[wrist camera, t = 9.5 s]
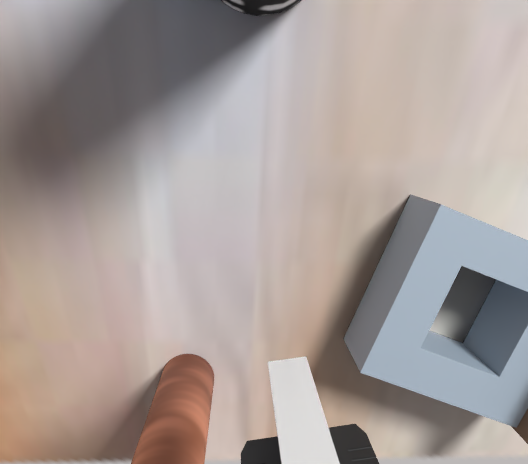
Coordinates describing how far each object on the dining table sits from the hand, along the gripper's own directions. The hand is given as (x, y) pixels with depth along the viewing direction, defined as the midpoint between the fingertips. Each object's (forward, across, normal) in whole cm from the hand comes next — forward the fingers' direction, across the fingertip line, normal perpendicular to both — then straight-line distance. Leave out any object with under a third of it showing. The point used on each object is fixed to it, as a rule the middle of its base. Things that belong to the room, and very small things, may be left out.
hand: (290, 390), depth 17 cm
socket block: (+16, +13, -4) cm, 21 cm away
